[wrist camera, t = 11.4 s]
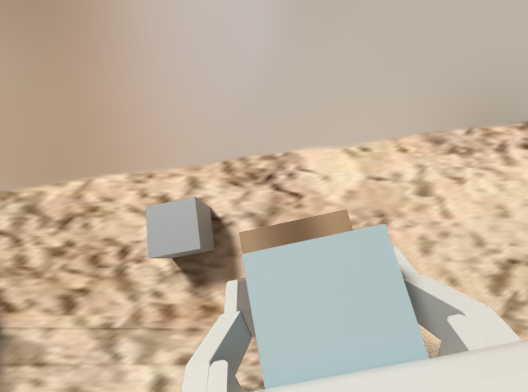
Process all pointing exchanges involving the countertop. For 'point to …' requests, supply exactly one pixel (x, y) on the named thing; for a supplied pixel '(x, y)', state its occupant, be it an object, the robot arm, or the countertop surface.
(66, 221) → the countertop surface
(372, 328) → the pillar
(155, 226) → the block
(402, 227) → the countertop surface
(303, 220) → the plinth
